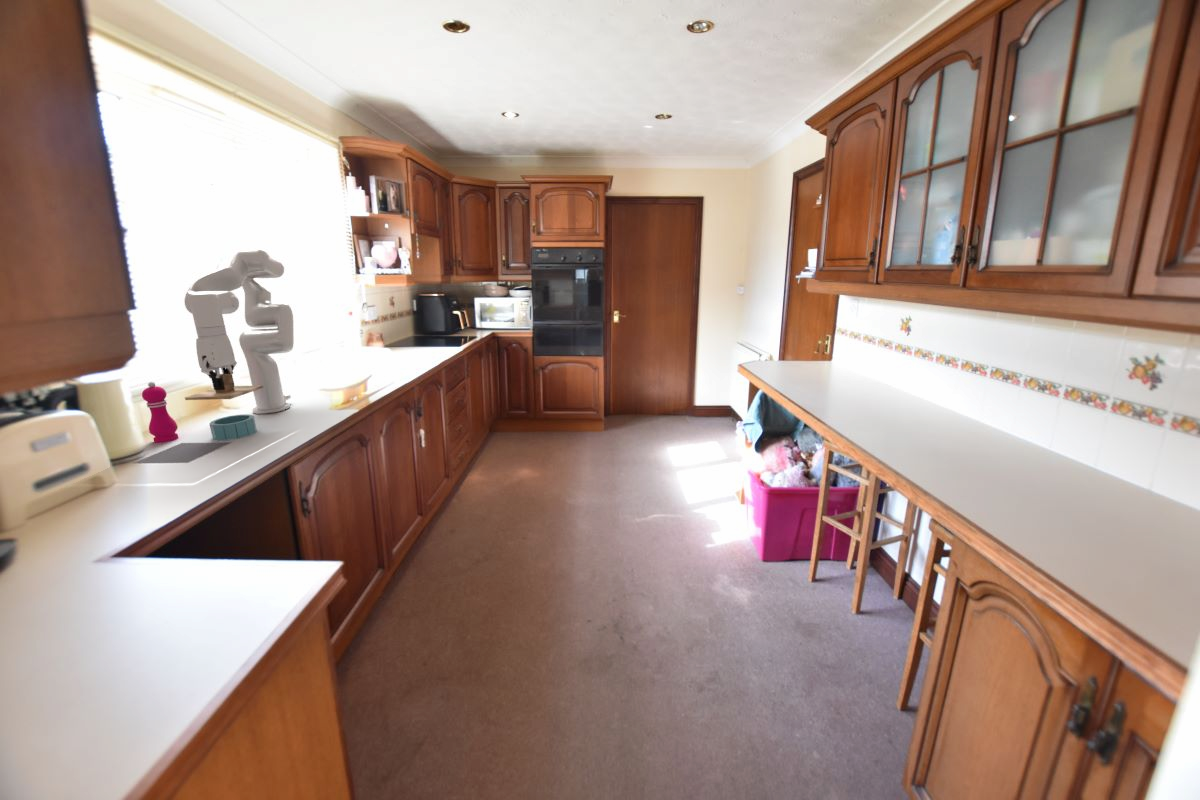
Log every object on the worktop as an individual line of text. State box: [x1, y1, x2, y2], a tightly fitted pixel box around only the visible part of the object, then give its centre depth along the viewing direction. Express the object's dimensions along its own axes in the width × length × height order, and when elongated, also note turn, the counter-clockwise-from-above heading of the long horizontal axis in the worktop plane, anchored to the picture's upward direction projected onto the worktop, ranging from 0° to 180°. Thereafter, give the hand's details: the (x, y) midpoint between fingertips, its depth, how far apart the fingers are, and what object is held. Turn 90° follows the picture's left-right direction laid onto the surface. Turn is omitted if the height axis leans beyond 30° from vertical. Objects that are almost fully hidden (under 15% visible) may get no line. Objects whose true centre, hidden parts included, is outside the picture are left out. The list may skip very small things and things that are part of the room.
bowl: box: [209, 413, 258, 441], centre depth 174 cm, size 12×12×6 cm
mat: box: [133, 441, 232, 464], centre depth 158 cm, size 17×17×1 cm
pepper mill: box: [141, 381, 179, 444], centre depth 168 cm, size 7×7×20 cm
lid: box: [184, 373, 263, 401], centre depth 170 cm, size 15×15×6 cm
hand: (224, 387), depth 170 cm, fingers closed on lid, 3 cm apart
